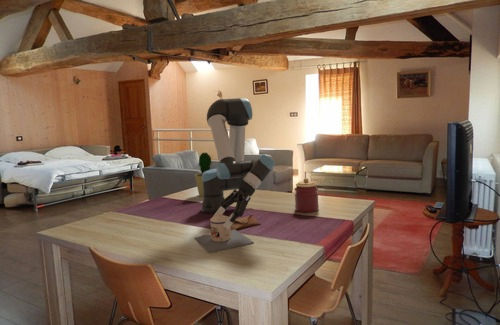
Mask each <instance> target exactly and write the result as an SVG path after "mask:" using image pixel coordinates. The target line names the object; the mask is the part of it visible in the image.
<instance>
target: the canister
mask: <svg viewBox="0 0 500 325" xmlns="http://www.w3.org/2000/svg"><path fill="white" fill-rule="evenodd" d="M317 185H318V184H317V183H316V182H314V181H311V180H309V179H308V177H307V178H304V179H303V180H302V181H298V182H297V183H296V184H295V186H296V187H294V188H293V189H294V191H295V193H294V200H295V201H294V202H295V203H294V204H295V205H294V209H295V211H297V212H299V213H315V212H318V210H319V206H320V205H319V193H318V190H319V187H317Z"/></svg>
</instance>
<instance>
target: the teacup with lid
mask: <svg viewBox="0 0 500 325" xmlns="http://www.w3.org/2000/svg"><path fill="white" fill-rule="evenodd" d="M229 217H230V216H227V215H224V214H222V213H218V215H216V216H215V217H213V216H212V217H210V219H209V222H210V234H211V238H212V240H213V241H216V242H223V241H227V240H229V239H230V238H231V228H229V229H227V228H225V227H224V226H223V225H224V224H225V222H226V221H227V220H228V218H229Z"/></svg>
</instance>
